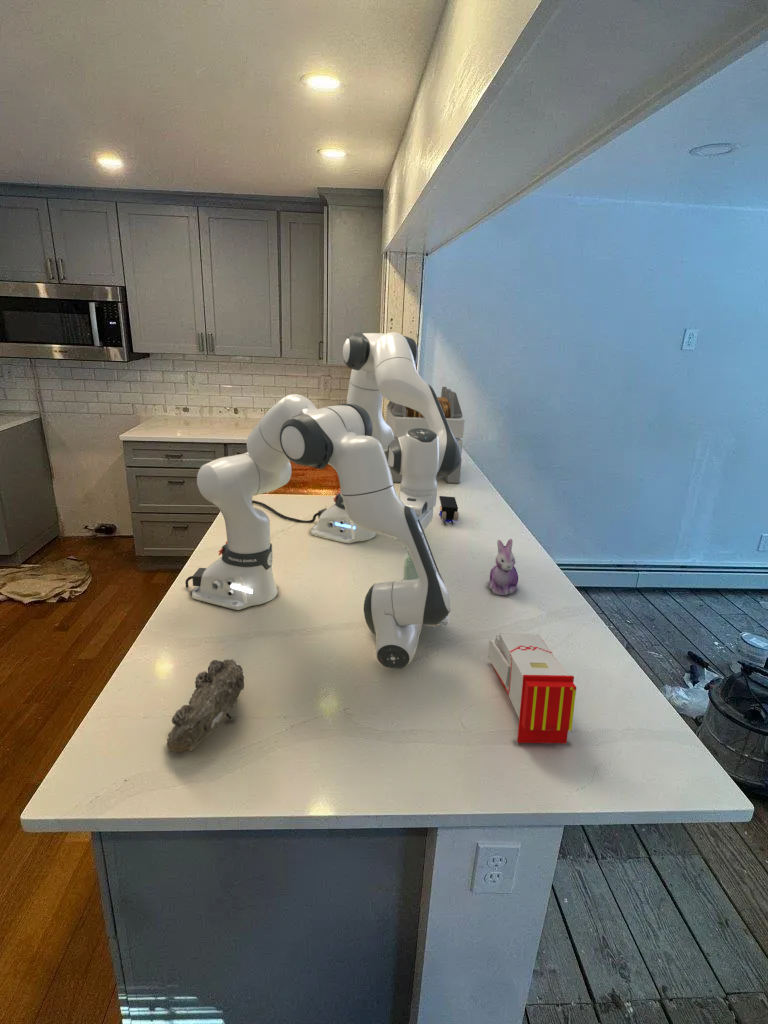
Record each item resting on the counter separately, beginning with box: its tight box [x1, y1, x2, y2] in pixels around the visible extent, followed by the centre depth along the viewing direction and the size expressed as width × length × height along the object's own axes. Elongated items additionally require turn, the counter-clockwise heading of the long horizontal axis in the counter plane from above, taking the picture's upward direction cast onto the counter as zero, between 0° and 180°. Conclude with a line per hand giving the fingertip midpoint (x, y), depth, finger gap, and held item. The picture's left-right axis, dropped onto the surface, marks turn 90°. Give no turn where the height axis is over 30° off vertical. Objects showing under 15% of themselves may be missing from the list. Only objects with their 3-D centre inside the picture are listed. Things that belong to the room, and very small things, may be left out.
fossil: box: [166, 658, 245, 754], centre depth 106 cm, size 22×10×15 cm
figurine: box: [488, 538, 519, 596], centre depth 161 cm, size 9×10×15 cm
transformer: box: [385, 386, 465, 484], centre depth 268 cm, size 34×33×41 cm
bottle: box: [402, 553, 419, 581], centre depth 144 cm, size 5×5×20 cm
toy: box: [487, 632, 577, 744], centre depth 116 cm, size 12×13×30 cm
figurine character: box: [438, 495, 459, 526], centre depth 214 cm, size 7×8×15 cm
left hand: (411, 593), depth 147 cm, fingers closed on bottle, 5 cm apart
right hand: (414, 549), depth 141 cm, fingers open, 4 cm apart
